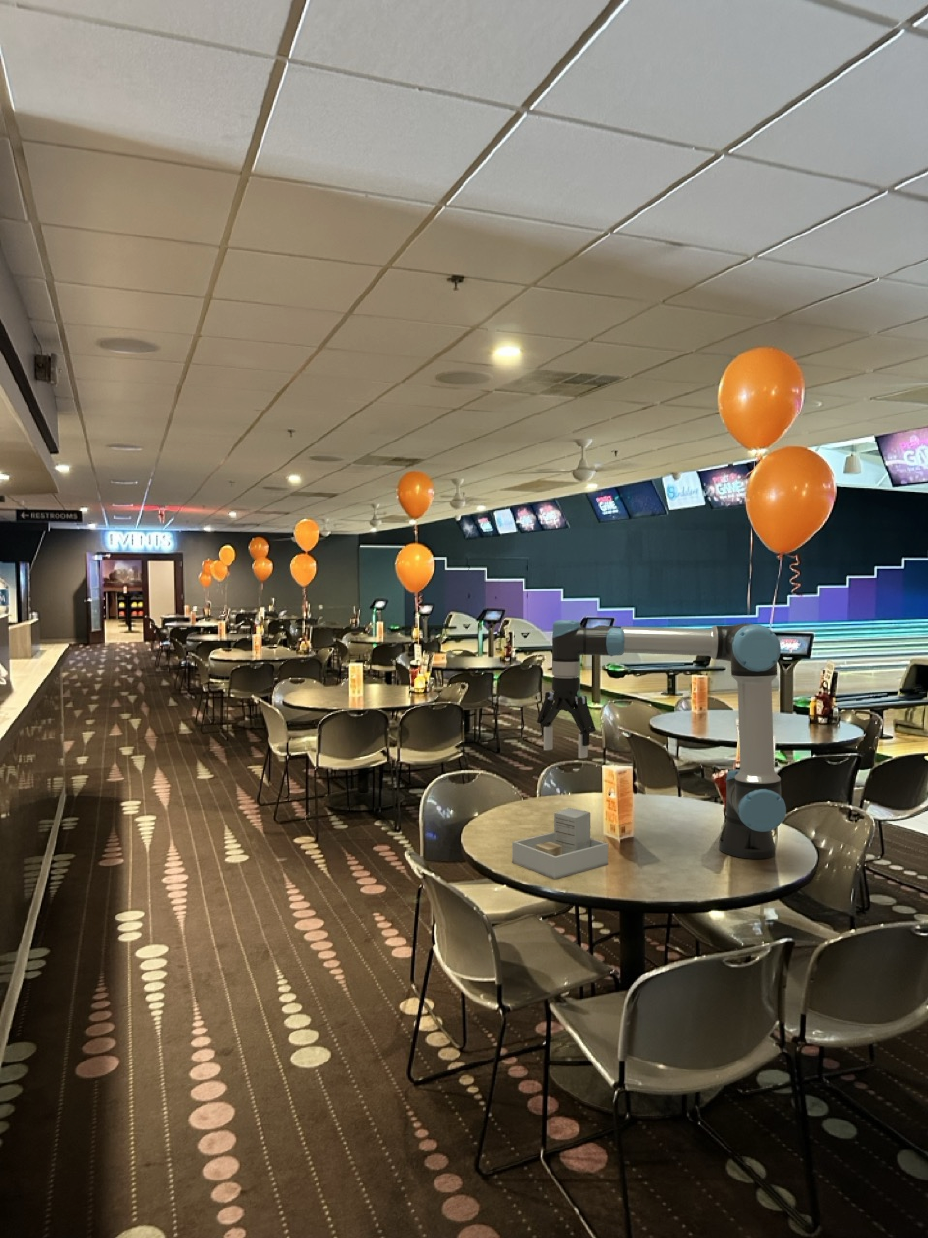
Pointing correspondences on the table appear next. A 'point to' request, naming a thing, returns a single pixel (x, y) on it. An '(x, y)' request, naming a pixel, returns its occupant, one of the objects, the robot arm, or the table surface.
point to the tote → (558, 857)
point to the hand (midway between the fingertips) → (565, 753)
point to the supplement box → (572, 829)
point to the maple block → (550, 848)
